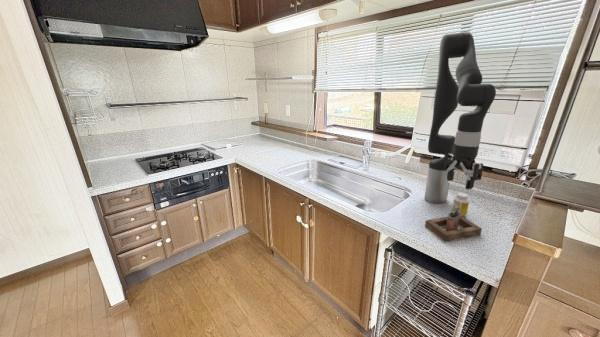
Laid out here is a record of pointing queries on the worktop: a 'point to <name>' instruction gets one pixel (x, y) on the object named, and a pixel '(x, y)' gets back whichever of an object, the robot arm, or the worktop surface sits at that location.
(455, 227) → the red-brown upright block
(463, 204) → the supplement bottle
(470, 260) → the worktop surface
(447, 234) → the slot block
